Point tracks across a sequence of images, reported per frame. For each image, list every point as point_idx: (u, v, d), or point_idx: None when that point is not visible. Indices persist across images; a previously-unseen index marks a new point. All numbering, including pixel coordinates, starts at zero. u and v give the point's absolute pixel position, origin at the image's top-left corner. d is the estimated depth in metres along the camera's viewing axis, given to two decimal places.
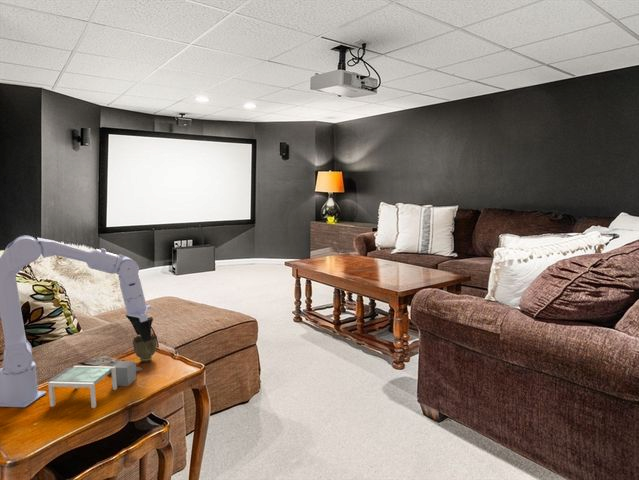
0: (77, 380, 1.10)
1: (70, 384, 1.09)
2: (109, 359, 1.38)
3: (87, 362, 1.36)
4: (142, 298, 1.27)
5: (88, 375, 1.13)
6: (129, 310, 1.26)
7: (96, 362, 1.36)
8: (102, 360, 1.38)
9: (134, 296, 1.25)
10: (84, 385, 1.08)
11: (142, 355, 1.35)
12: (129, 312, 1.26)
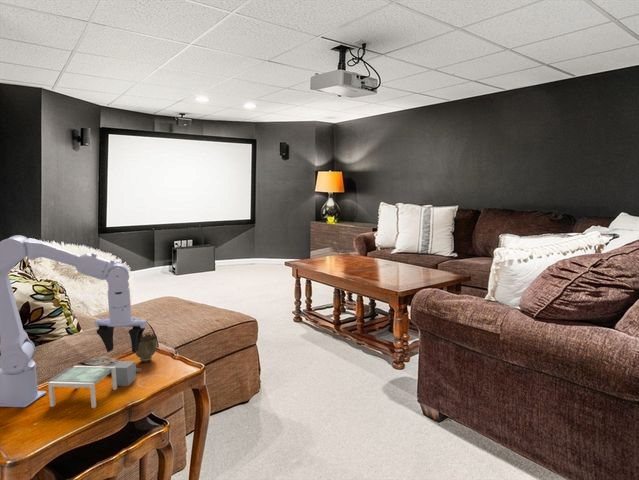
0: (77, 380, 1.10)
1: (70, 384, 1.09)
2: (109, 359, 1.38)
3: (87, 362, 1.36)
4: None
5: (88, 375, 1.13)
6: (121, 320, 1.19)
7: (96, 362, 1.36)
8: (102, 360, 1.38)
9: (118, 306, 1.18)
10: (84, 385, 1.08)
11: (142, 355, 1.35)
12: (121, 322, 1.19)
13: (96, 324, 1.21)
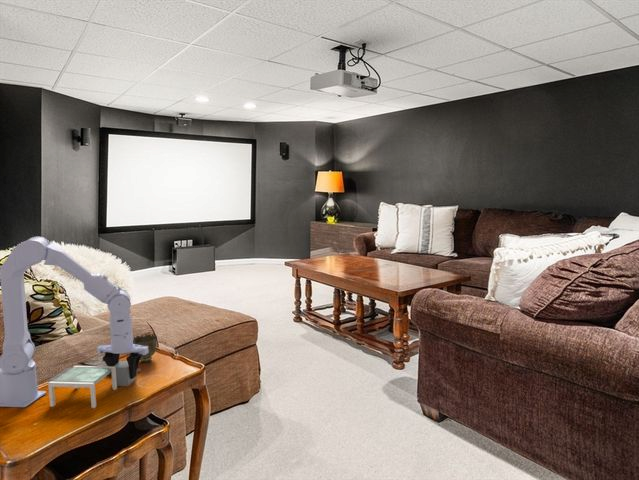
0: (77, 380, 1.10)
1: (70, 384, 1.09)
2: None
3: (87, 362, 1.36)
4: None
5: (88, 375, 1.13)
6: (123, 347, 1.20)
7: (95, 362, 1.36)
8: (101, 360, 1.37)
9: (120, 333, 1.19)
10: (84, 385, 1.08)
11: (142, 355, 1.35)
12: (122, 349, 1.20)
13: (98, 351, 1.22)
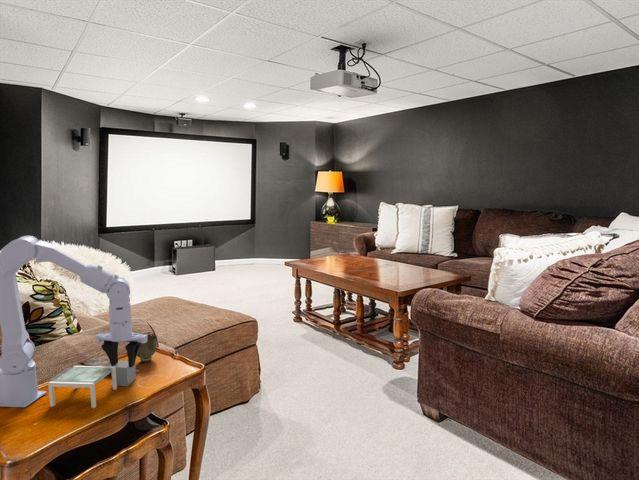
0: (77, 380, 1.10)
1: (70, 384, 1.09)
2: (108, 360, 1.38)
3: (86, 362, 1.36)
4: None
5: (88, 375, 1.13)
6: (122, 335, 1.19)
7: (95, 362, 1.36)
8: (101, 360, 1.37)
9: (119, 321, 1.19)
10: (84, 385, 1.08)
11: (142, 355, 1.35)
12: (121, 337, 1.19)
13: (97, 339, 1.21)
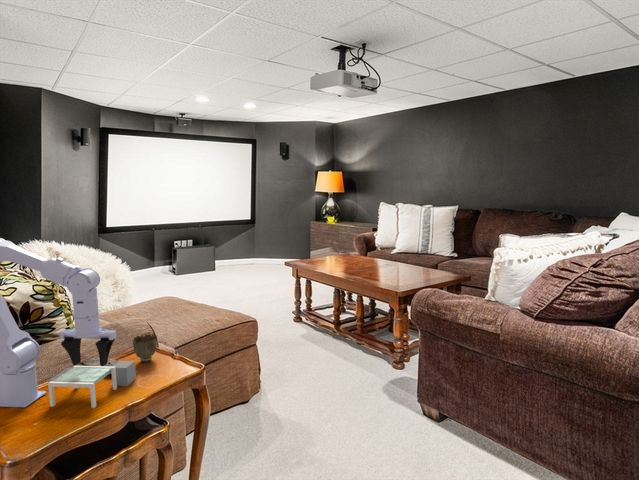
0: (77, 380, 1.10)
1: (70, 384, 1.09)
2: (108, 360, 1.38)
3: (86, 362, 1.36)
4: None
5: (88, 375, 1.13)
6: (88, 331, 1.10)
7: (94, 363, 1.36)
8: None
9: (80, 316, 1.09)
10: (84, 385, 1.08)
11: (142, 355, 1.35)
12: (87, 333, 1.10)
13: (61, 335, 1.12)
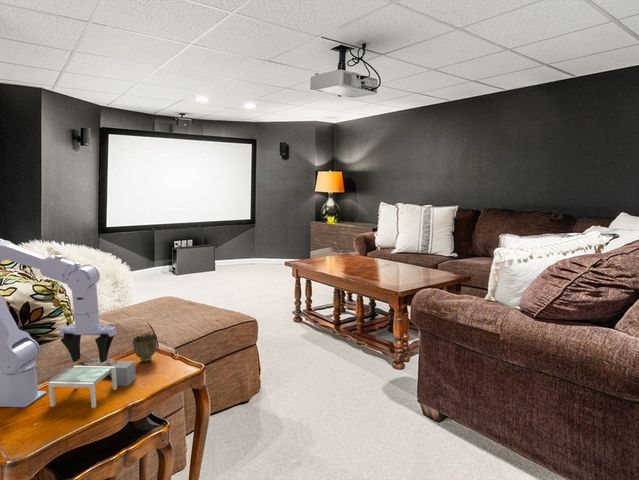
0: (77, 380, 1.10)
1: (70, 384, 1.09)
2: (107, 360, 1.37)
3: (86, 362, 1.36)
4: None
5: (88, 375, 1.13)
6: (87, 327, 1.10)
7: (94, 363, 1.35)
8: None
9: (79, 312, 1.09)
10: (84, 385, 1.08)
11: (142, 355, 1.35)
12: (87, 329, 1.09)
13: (60, 332, 1.12)
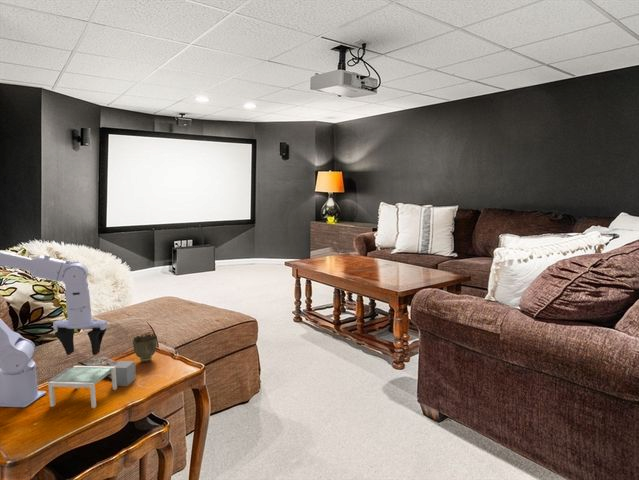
0: (77, 380, 1.10)
1: (70, 384, 1.09)
2: (107, 360, 1.37)
3: (86, 362, 1.36)
4: None
5: (88, 375, 1.13)
6: (80, 321, 1.14)
7: (94, 363, 1.35)
8: (100, 361, 1.37)
9: (76, 307, 1.14)
10: (84, 385, 1.08)
11: (142, 355, 1.35)
12: (79, 323, 1.14)
13: (54, 326, 1.17)
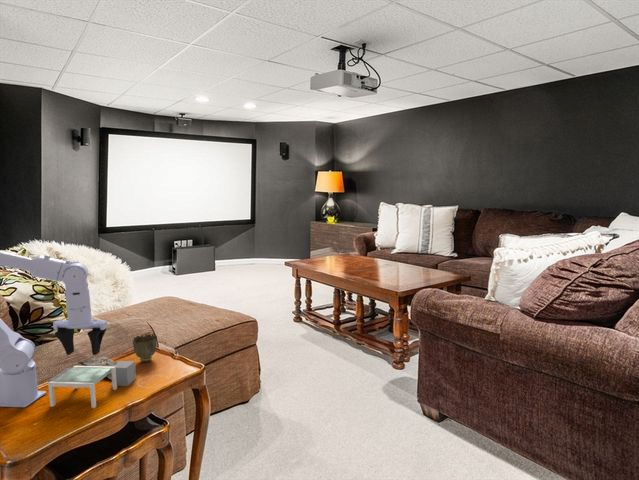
0: (77, 380, 1.10)
1: (70, 384, 1.09)
2: (107, 360, 1.37)
3: (86, 362, 1.36)
4: None
5: (88, 375, 1.13)
6: (80, 321, 1.14)
7: (93, 363, 1.35)
8: (100, 361, 1.37)
9: (76, 307, 1.14)
10: (84, 385, 1.08)
11: (142, 355, 1.35)
12: (79, 323, 1.14)
13: (54, 326, 1.17)
